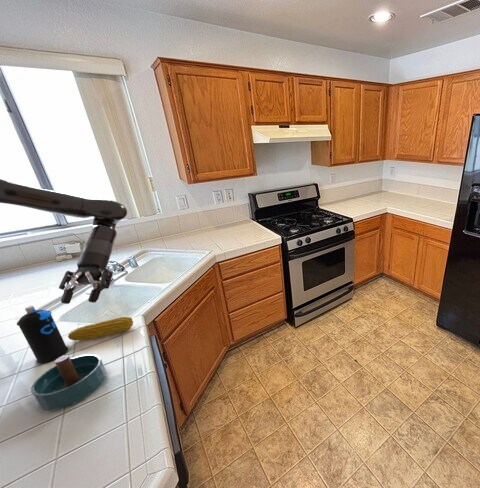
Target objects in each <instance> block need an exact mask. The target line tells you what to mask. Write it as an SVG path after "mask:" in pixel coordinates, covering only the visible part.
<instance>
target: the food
mask: <svg viewBox="0 0 480 488" xmlns="http://www.w3.org/2000/svg"><path fill="white" fill-rule="evenodd" d="M133 325H134V321H133V318H132V317H130V316H120V317H115V318H113V319H109V320H104V321H103V320H102V321H100V322H99V321H98V322H96V323H93V324H86V325H84V326H81V327H78V328H76V329H74V330H71V331H70V332H68V335H67V337H68V339H69V340H72V341H83V340H90V339H96V338H102V337H105V336H110V335H113V334H114V335H115V334H117V333H122V332H125V331H129V330H130V329H132V327H133Z"/></svg>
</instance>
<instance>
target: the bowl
mask: <svg viewBox="0 0 480 488" xmlns="http://www.w3.org/2000/svg"><path fill="white" fill-rule="evenodd" d="M70 360H71V362H72V364H73V366H74V368H75V370H76V372H77V374H78V376H79V377H85V378H83V379H82V380H80V381H78V382H77V383H75V384H73V385H71V386H69V387H67V388H65V389H62V388H63V386H64V385H65V382H64V380H63V378H62V376H61V374H60V372H59V370H58V368H57V366H56V365H54V366H53V367H51V368H50V369H48V370H47V371H45V372H44V373H42V374H41V375H40V376H39V377H38V378H37V379H36V380H35V381H33V384H32V385H31V386H30V393H31V395H32V397H33V399H34V400H35V402H36V404H37V405H38V407H39V408H40V409H41V410H43V411H55V410H56V411H57V410H60V409H64V408H67V407H69V406H71V405H74V404H75V403H77V402H79V401H81V400H84V399H85V398H86V397H88V396H89V395H91V394H92V393H94V392H95V391H96V390H97V389H98V388H99V387H100V386H101V385H102V384H103V383H104V381H105V380H106V378H107V376H108V375H107V374H108V371H107V369H106V366H105V364H104V363H103V360H102V357H101V356H100V355H99V354H95V353H94V354H93V353H88V354H81V355H78V356H75V357H71V358H70Z"/></svg>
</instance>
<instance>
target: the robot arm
mask: <svg viewBox="0 0 480 488" xmlns="http://www.w3.org/2000/svg"><path fill="white" fill-rule="evenodd" d="M0 204H7V205H13V206H20V207H26V208H30V209H34V210H37V211H42V212H47V213H51V214H55V215H61V216H66V217H72V218H78V219H87V218H93V220H92V228H91V230H90V232H89V235H88V238H87V240H86V242H85V243H84V246H83V247H82V250H81V253H80V255H79V258H78V259H77V263H76V267H77V268H76V271H70V270H67V271H65V272H64V275H63V278H62V280H61V281H60V284H59V285H58V289H60V290H62V291H63V293H62V296H61V298H60V303H61V304H65V305H69V304H70V303H71V301H72V299H73V295H74V292H76V290H78V288H81V287H82V286H87V285H91V287H92V289H91V290H90V294H89V297H88V300H87V301H88V302H89V303H92V304H94V303H97V301H98V300H99V298H100V295H101V292H102V291H103V290H108V289H109V288H110V285H111V282H112V278H113V274H114V271H112V270H110V269H107V267H108V265H109V262H110V259H111V255H112V253H113V248H114V244H115V241H116V238H117V234H118V233H117V229H116V226H117V224H118V223H119V222H121V221H123V220H124V219H125V218H126V217H127V215H128V209H127V208H126V206H125V205H123V204H122V203H121V202H118V201H115V200H110V199H100V198H88V197H83V196H78V195H74V194H70V193H65V192H60V191H55V190H49V189H43V188H38V187H33V186H27V185H23V184H19V183H15V182H11V181H8V180H4V179H2V178H0Z"/></svg>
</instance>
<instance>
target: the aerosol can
mask: <svg viewBox="0 0 480 488" xmlns="http://www.w3.org/2000/svg"><path fill="white" fill-rule="evenodd" d="M24 310H25V312H26V313H25V314H24V315H22V316H21V317H20V318H19V319H18V321H17V322H16V325H17V326H18V327H19V329H20V331H21V333H22V335H23V337H24V338H25V340H26V342H27V344H28V346H29V348H30V350H31V352H32V353H33V355H34V358H35V359H36V363H38V364H46V363H47V364H48V363H51V362H54V361H55V360H56V359H57V358H59V357H61V356H64V355H66V354H67V352H68V351H69V347H68V346H67V345H66V343H65V341H64V338H63V336H62V335H61V332H60V330H59V328H58V325H57V323H56V321H55V319H54V318H53V315H52V311H50V310H46V309H37V310H36V308H35V306H34V305H29V306H26V307H25V308H24Z"/></svg>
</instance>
